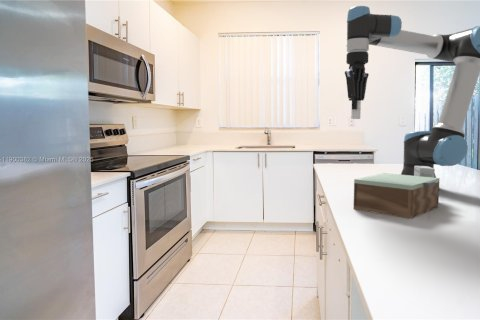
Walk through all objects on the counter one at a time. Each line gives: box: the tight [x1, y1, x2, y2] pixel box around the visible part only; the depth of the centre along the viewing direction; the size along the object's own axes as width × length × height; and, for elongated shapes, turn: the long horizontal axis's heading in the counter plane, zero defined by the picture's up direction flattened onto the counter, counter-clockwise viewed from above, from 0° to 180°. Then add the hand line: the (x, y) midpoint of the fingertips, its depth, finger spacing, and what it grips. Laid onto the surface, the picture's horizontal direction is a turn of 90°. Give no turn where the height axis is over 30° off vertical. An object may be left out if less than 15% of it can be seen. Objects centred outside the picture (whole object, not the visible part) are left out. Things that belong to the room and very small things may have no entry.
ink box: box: [414, 166, 435, 178], centre depth 138 cm, size 9×5×12 cm, turn 168°
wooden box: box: [353, 181, 440, 219], centre depth 126 cm, size 21×18×8 cm
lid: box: [353, 172, 440, 190], centre depth 125 cm, size 21×20×1 cm
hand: (355, 118), depth 144 cm, fingers closed
